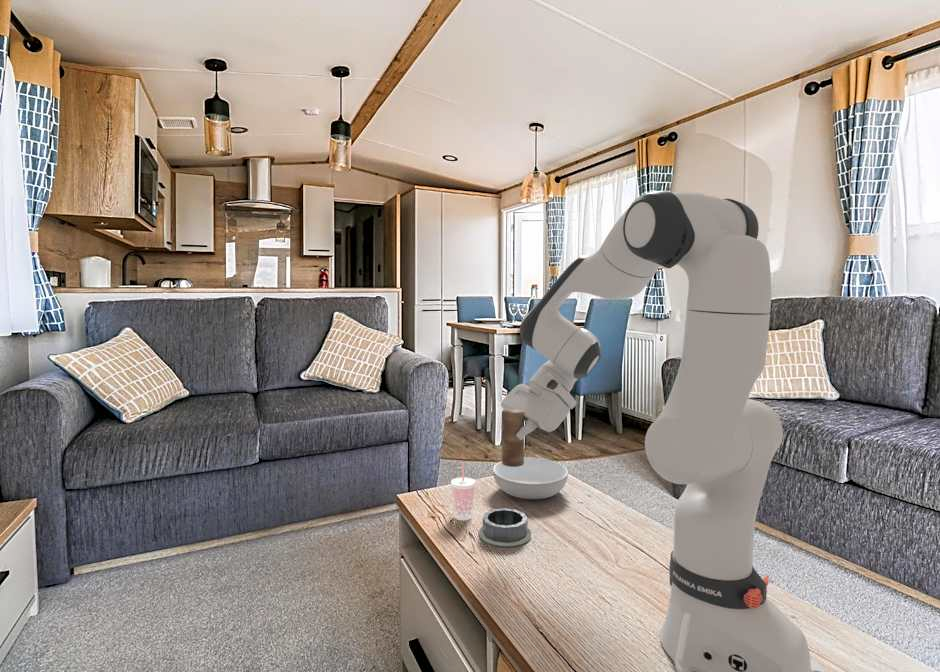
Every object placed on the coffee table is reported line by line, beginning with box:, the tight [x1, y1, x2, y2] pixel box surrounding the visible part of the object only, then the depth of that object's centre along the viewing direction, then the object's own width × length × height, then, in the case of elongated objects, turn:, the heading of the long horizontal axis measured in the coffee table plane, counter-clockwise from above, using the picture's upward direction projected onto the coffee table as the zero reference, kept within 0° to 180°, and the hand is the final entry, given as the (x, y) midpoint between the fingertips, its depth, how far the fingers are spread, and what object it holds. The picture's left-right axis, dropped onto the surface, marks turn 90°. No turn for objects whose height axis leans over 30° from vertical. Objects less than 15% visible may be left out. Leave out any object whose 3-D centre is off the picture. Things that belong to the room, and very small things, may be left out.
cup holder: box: [478, 507, 532, 548], centre depth 119 cm, size 12×12×4 cm
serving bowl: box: [492, 456, 569, 500], centre depth 144 cm, size 21×21×7 cm
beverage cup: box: [450, 461, 476, 521], centre depth 128 cm, size 6×6×14 cm
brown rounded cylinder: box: [501, 409, 525, 467], centre depth 117 cm, size 5×5×12 cm
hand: (510, 433), depth 116 cm, fingers closed on brown rounded cylinder, 5 cm apart
